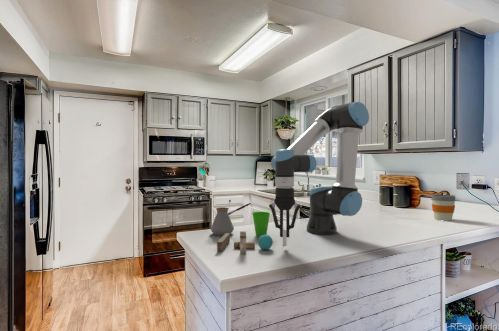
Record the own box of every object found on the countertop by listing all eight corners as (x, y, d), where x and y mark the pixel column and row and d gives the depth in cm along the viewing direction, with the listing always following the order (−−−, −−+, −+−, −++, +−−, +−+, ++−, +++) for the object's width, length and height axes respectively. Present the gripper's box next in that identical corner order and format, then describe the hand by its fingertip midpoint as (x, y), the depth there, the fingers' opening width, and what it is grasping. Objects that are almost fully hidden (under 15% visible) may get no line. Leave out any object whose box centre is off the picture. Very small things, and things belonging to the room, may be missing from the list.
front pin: (254, 241, 118) (234, 240, 119) (254, 244, 115) (233, 243, 116) (254, 246, 118) (234, 246, 119) (254, 249, 116) (233, 248, 117)
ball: (258, 232, 118) (258, 246, 119) (257, 237, 112) (257, 252, 113) (272, 232, 118) (272, 246, 118) (272, 237, 112) (272, 252, 112)
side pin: (246, 252, 111) (246, 230, 111) (245, 254, 109) (245, 232, 109) (240, 252, 112) (240, 230, 112) (239, 254, 109) (239, 232, 109)
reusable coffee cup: (434, 220, 171) (434, 196, 171) (428, 217, 183) (428, 194, 183) (458, 222, 168) (459, 197, 167) (451, 218, 179) (451, 194, 179)
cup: (248, 236, 136) (248, 213, 135) (257, 232, 144) (256, 210, 143) (265, 238, 131) (265, 215, 131) (273, 234, 139) (273, 212, 139)
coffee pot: (213, 238, 133) (213, 206, 133) (208, 232, 144) (208, 203, 144) (255, 234, 140) (255, 204, 139) (248, 229, 150) (248, 201, 150)
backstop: (229, 242, 126) (229, 233, 125) (222, 252, 112) (222, 242, 112) (225, 242, 126) (225, 233, 126) (217, 251, 112) (217, 241, 112)
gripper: (267, 187, 112) (267, 247, 112) (301, 188, 110) (301, 248, 110) (269, 186, 119) (269, 241, 120) (300, 186, 117) (300, 243, 118)
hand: (284, 245), depth 115 cm, fingers closed
